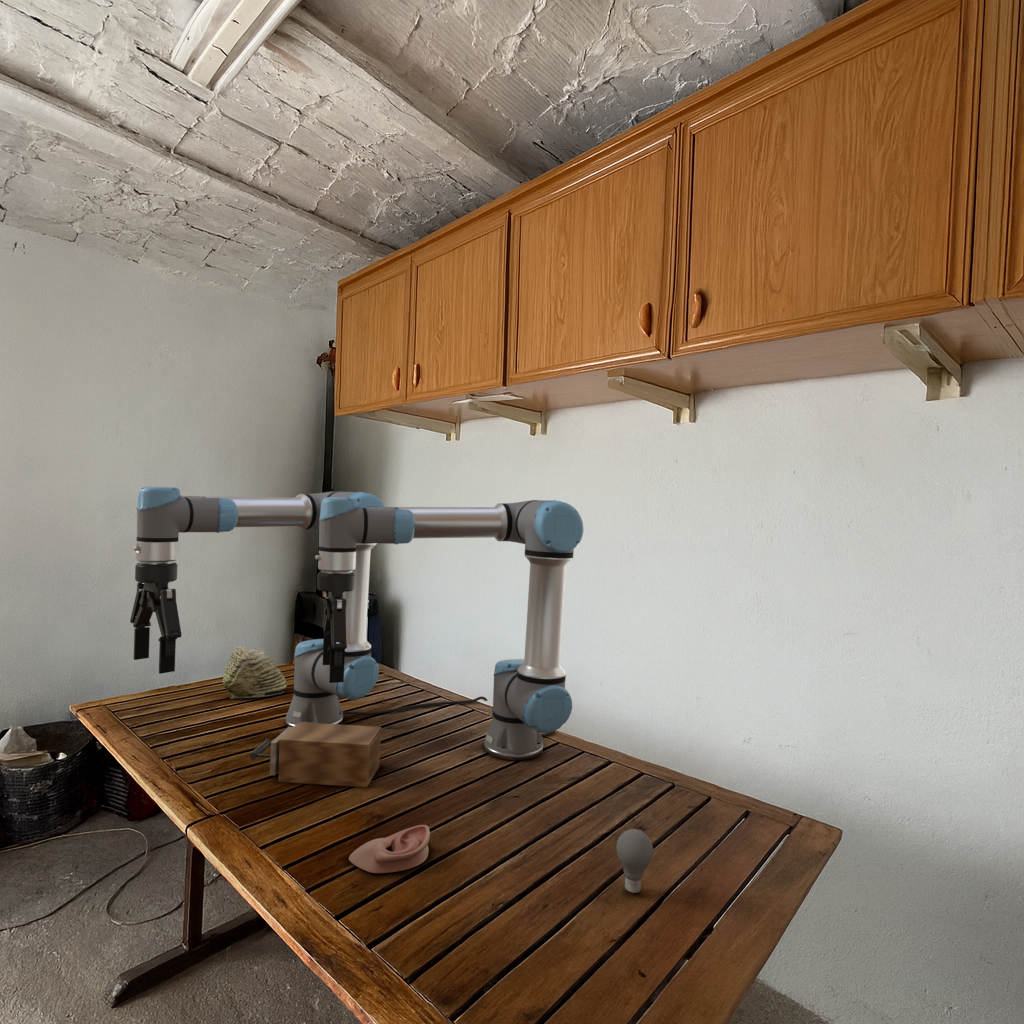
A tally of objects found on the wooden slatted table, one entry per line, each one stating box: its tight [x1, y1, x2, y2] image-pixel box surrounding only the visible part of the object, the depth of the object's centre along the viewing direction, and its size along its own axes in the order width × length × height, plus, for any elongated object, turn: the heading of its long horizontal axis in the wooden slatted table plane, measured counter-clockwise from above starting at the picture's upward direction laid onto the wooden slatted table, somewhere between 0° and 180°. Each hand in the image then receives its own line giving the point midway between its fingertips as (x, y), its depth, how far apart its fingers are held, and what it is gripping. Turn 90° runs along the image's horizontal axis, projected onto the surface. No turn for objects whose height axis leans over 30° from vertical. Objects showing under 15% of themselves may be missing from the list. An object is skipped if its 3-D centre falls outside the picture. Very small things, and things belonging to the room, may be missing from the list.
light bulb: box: [615, 828, 654, 894], centre depth 106 cm, size 6×6×10 cm
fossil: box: [222, 646, 288, 699], centre depth 198 cm, size 9×18×15 cm, turn 132°
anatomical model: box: [348, 824, 431, 874], centre depth 113 cm, size 13×4×12 cm
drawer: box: [248, 727, 293, 776], centre depth 145 cm, size 24×10×7 cm, turn 88°
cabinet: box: [277, 722, 382, 788], centre depth 145 cm, size 20×11×10 cm, turn 88°
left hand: (153, 665), depth 130 cm, fingers open, 13 cm apart
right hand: (332, 673), depth 132 cm, fingers open, 13 cm apart
